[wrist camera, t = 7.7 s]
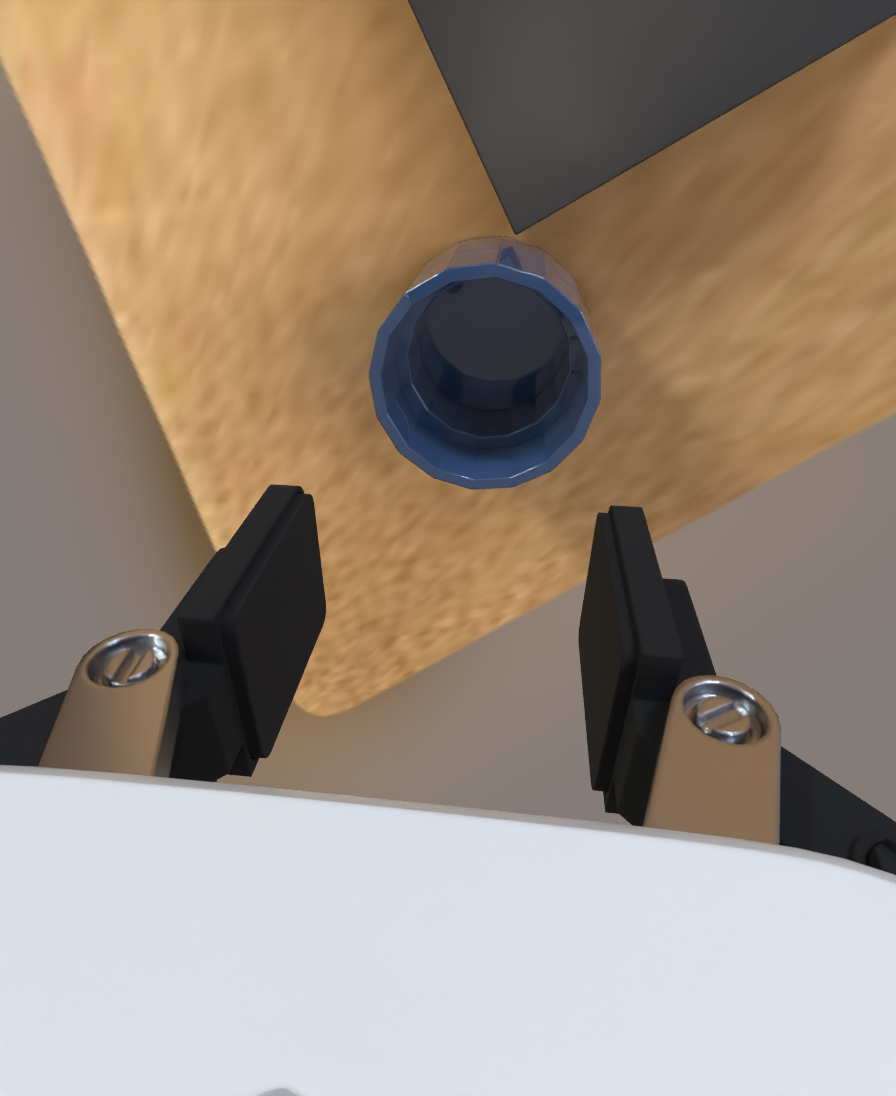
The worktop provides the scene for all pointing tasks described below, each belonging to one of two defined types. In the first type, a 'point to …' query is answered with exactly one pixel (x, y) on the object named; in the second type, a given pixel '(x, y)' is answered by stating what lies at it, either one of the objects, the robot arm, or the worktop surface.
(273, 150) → the worktop surface
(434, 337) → the cup
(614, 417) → the worktop surface
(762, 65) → the scale
